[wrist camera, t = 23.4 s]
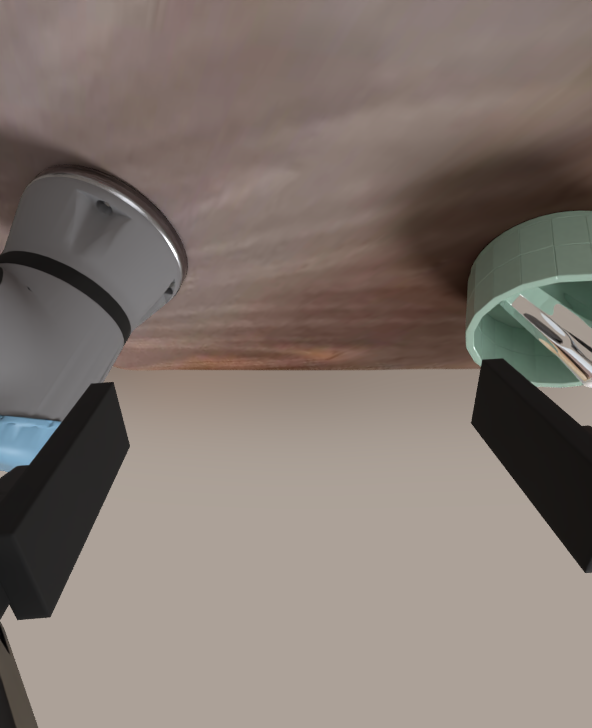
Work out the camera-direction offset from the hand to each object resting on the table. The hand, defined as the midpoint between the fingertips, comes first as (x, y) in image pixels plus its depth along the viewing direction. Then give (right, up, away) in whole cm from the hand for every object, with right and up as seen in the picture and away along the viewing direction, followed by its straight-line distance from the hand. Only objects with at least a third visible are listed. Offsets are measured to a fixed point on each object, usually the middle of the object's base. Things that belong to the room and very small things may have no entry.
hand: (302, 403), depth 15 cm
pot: (+20, +8, +17) cm, 27 cm away
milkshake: (+16, +7, +17) cm, 24 cm away
